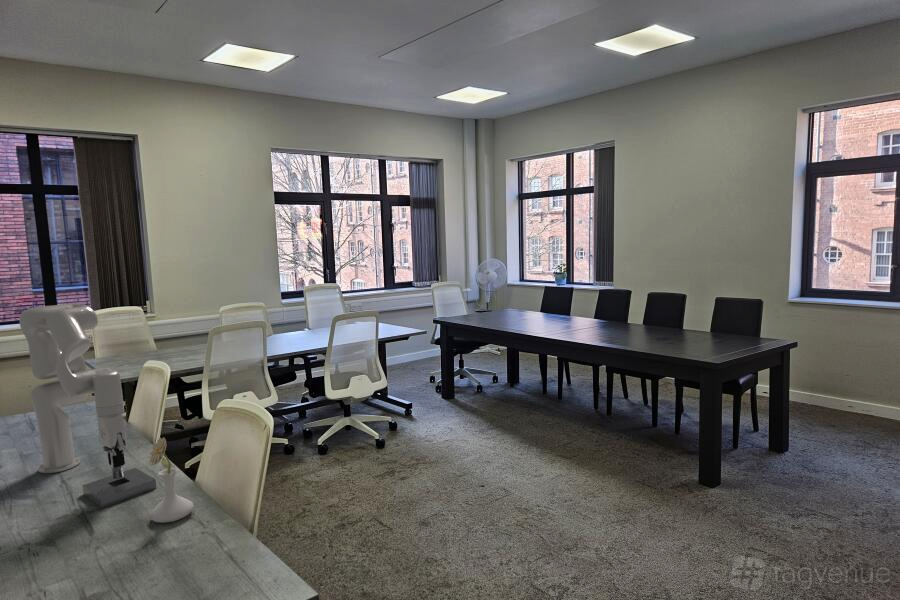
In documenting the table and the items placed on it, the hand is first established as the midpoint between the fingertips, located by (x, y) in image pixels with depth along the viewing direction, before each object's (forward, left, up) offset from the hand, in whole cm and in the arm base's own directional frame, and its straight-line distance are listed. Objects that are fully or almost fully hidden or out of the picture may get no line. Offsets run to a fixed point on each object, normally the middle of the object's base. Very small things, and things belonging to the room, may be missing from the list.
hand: (116, 464), depth 177 cm
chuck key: (0, 0, -4) cm, 4 cm away
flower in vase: (+33, +2, -9) cm, 34 cm away
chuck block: (0, 0, -9) cm, 9 cm away
